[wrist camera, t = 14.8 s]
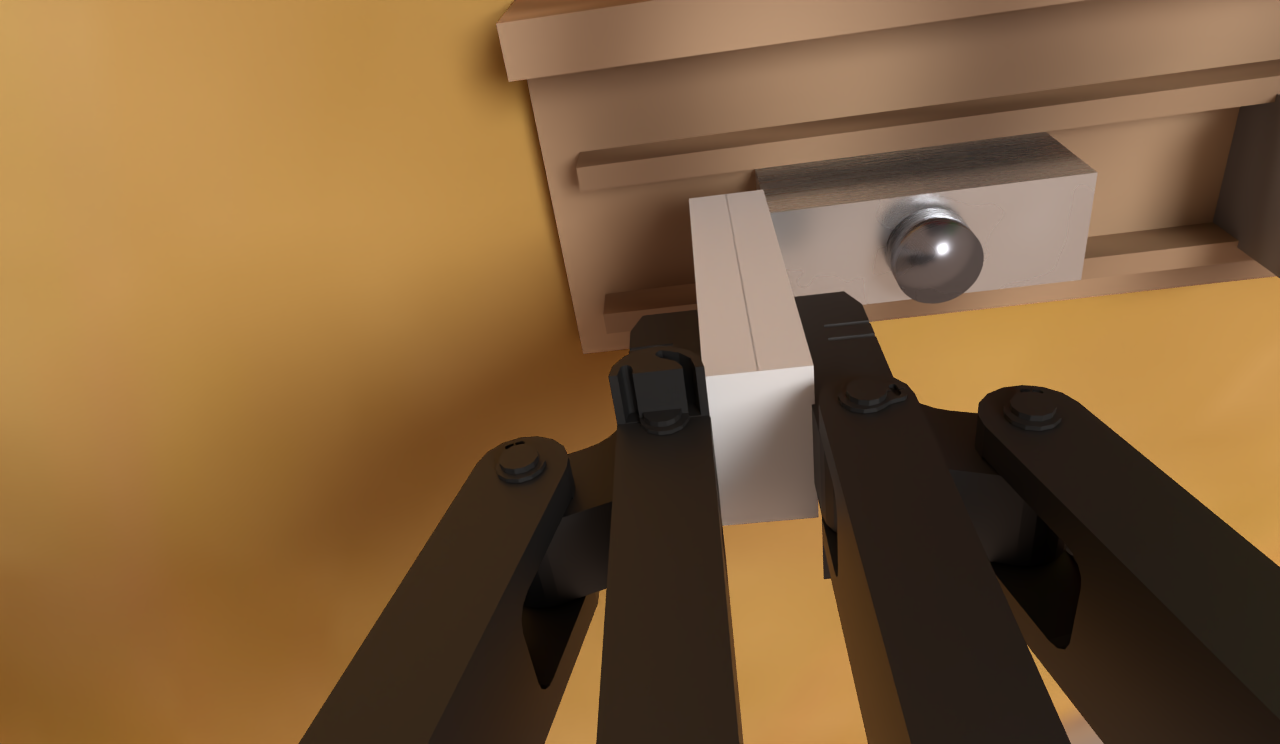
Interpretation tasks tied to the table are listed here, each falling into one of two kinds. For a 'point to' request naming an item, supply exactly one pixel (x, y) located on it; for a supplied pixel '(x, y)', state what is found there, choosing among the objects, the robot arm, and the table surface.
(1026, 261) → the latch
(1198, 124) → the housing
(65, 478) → the table surface
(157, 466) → the table surface
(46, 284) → the table surface
